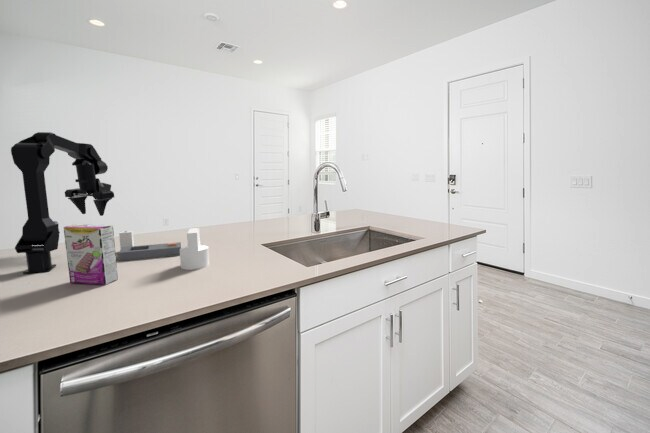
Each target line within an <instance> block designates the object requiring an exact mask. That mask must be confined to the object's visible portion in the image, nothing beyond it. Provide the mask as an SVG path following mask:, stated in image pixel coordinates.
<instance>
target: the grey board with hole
mask: <svg viewBox="0 0 650 433" xmlns="http://www.w3.org/2000/svg"><path fill="white" fill-rule="evenodd" d="M181 243H182V242H167V243H155V244H143V245H134V246H130V247H122V248H120V250H119V251H118V252H117V253H118V261H119V262H122V261H132V260H134V261H135V260H143V259H144V260H145V259H154V258H163V257H174V256H180V248H182V244H181Z"/></svg>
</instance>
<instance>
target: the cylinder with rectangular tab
mask: <svg viewBox="0 0 650 433" xmlns="http://www.w3.org/2000/svg"><path fill="white" fill-rule="evenodd" d="M200 238H201V235H200V228H199V227H198V228H197V227H195V228H194V227H192V228H189V230H188V231H187V232H186V240H187V245H186V246H183V247H182V246H181V248H180V255H179V260H180V268H181V269H182V270H185V271H187V270H188V271H190V270H192V271H193V270H200V269H204V268H208V267H209V266H210V246H208V245H204V244H201V239H200Z"/></svg>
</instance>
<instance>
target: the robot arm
mask: <svg viewBox="0 0 650 433" xmlns="http://www.w3.org/2000/svg"><path fill="white" fill-rule="evenodd" d="M56 150H59V151H61V152H64V153H66V154H67V155H68V156H69V157H71V158H73V159H74V161H73V162H72V163H71V165H72V166H75V169H76V176H77V179H74V180H75V182H76V183H78V187H79V188H72V189H71V188H70V189H66V190H65V191H64V197H65V198H68V200H70V202H72V203H73V205H74V206H75V207H76V208H77V210H79V212H80V213H81V214H82V215H85V214H87V210H86V208H87V207H86V200H87V198H88V197H92V198H93V203H94V205H95V207H96V210H97V212H98V214H99V216H100V217H102V216H104V214H105V210H106V207H107V204H108V202H109V201H111V200H112V199H113V198H115V193H114V191H113V190H112V184H109V183H106V182H102V181H101V180H100V178H98V177H96V176H97V175H101V174H102V175H103V174H105V173H107V171H108V165H107V163H106V162H105V161H103V160H102V157H100V154H99V153H98V152H97V150H96V148H95V147H94V146H93V145H92V144H91V143H83V142H82V143H80V142H75V141H73V140H70V139H68V138H64V137H61V136H60V135H57V134H56V133H53V132H50V131H48V132H47V131H46V132H45V131H43V132H42V131H41V132H40V131H38V132H36V133H34V134H33V135H31V136H29V137H27V138H24V139H22V140H19V141H18V142H17V143H15V144H14V145H13V146H11V147H10V154H11V157H12V161H13V163H14V165H15V166H16V167H17V169H18V170H19V171H21V174H22V179H23V180H22V181H23V182H22V183H23V187H24V188H23V189H24V197H25V202H26V203H25V204H26V212H27V220H26V221H25V223H24V224H23V225H22V231H21V232H22V234H21V237H20V238H19V239H18V240H17V243H16V245H15V246H14V250H15V251H16V253H17V254H24V253H25V259H26V266H27V269H25V270H24V271H22V274H23V275H24V274H35V273H44V272H51V271H52V270H54V268H55V267H57V264H54V263H52V255H51V252H53V251H56V250H57V249H58V247H59V242H60V229H59V222H58V221H56V220H53V219H52V218H51V217H50V213H49V204H48V196H47V186H46V178H45V177H46V176H45V171H46V170H47V169H48V167H49V166H50V161H51V160H50V159H51V158H50V157H51V156H52V155H53V154H54V153H55V151H56Z"/></svg>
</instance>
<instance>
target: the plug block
mask: <svg viewBox="0 0 650 433" xmlns="http://www.w3.org/2000/svg"><path fill="white" fill-rule="evenodd" d="M118 235H119V236H118V237H119V247H120V249H121V248H122V247H130V246H135V242H134V230H123V231H120V232H119V233H118Z"/></svg>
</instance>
